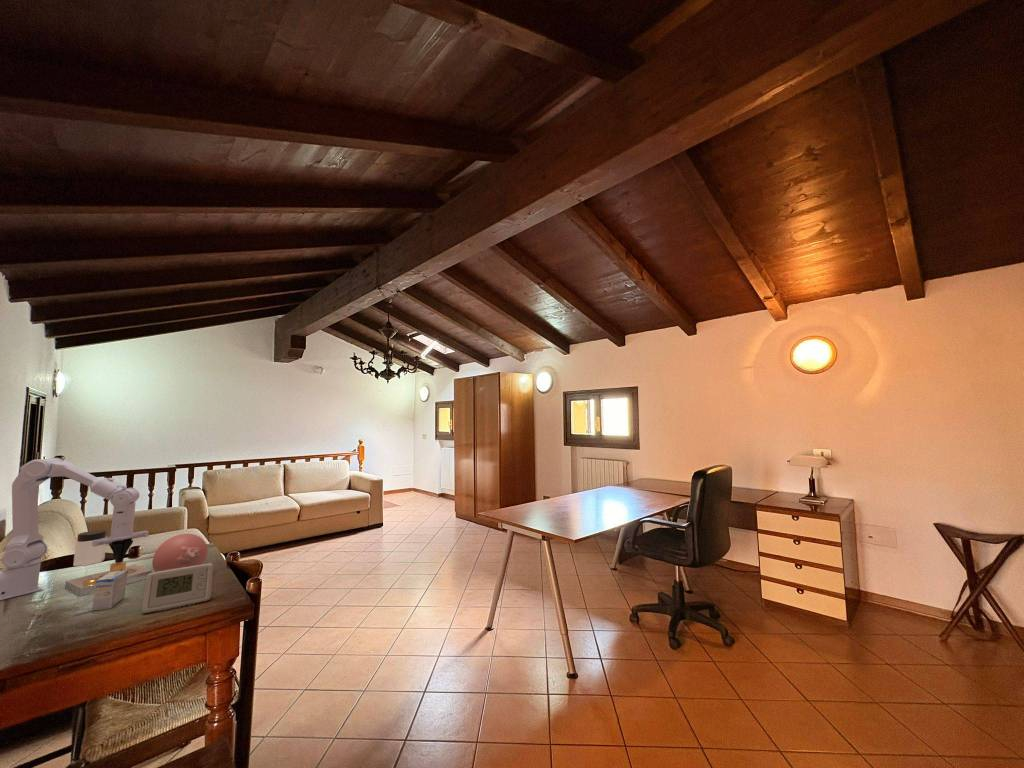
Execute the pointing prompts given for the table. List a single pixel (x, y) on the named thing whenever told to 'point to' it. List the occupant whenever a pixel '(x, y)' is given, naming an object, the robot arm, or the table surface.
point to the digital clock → (177, 587)
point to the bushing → (118, 567)
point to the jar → (89, 548)
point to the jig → (88, 582)
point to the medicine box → (109, 590)
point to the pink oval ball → (180, 552)
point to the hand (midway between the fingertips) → (119, 562)
